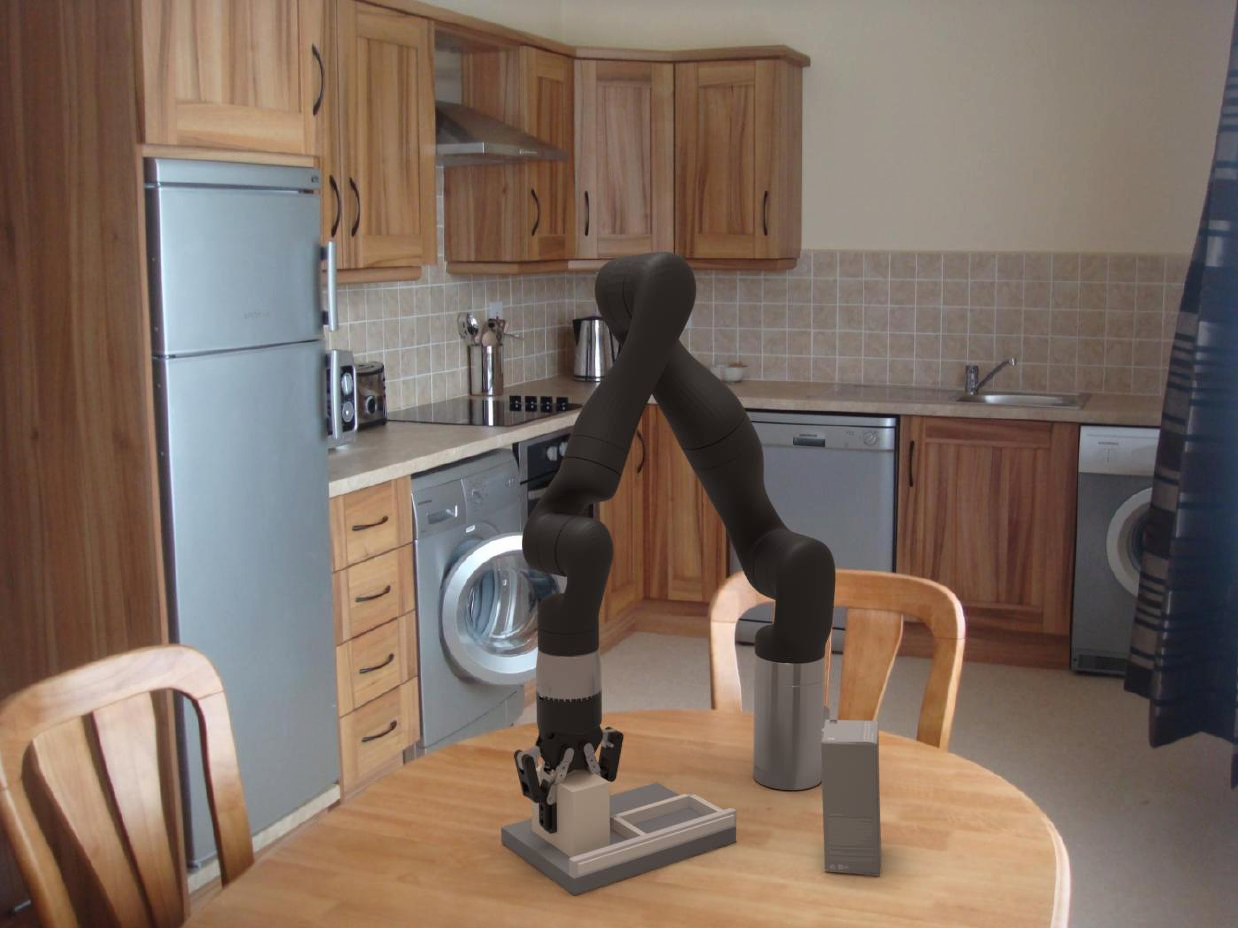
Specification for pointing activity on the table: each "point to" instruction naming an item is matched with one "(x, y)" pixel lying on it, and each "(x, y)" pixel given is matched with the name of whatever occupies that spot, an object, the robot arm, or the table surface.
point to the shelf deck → (631, 838)
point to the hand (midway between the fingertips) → (570, 823)
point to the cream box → (578, 814)
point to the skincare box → (851, 796)
